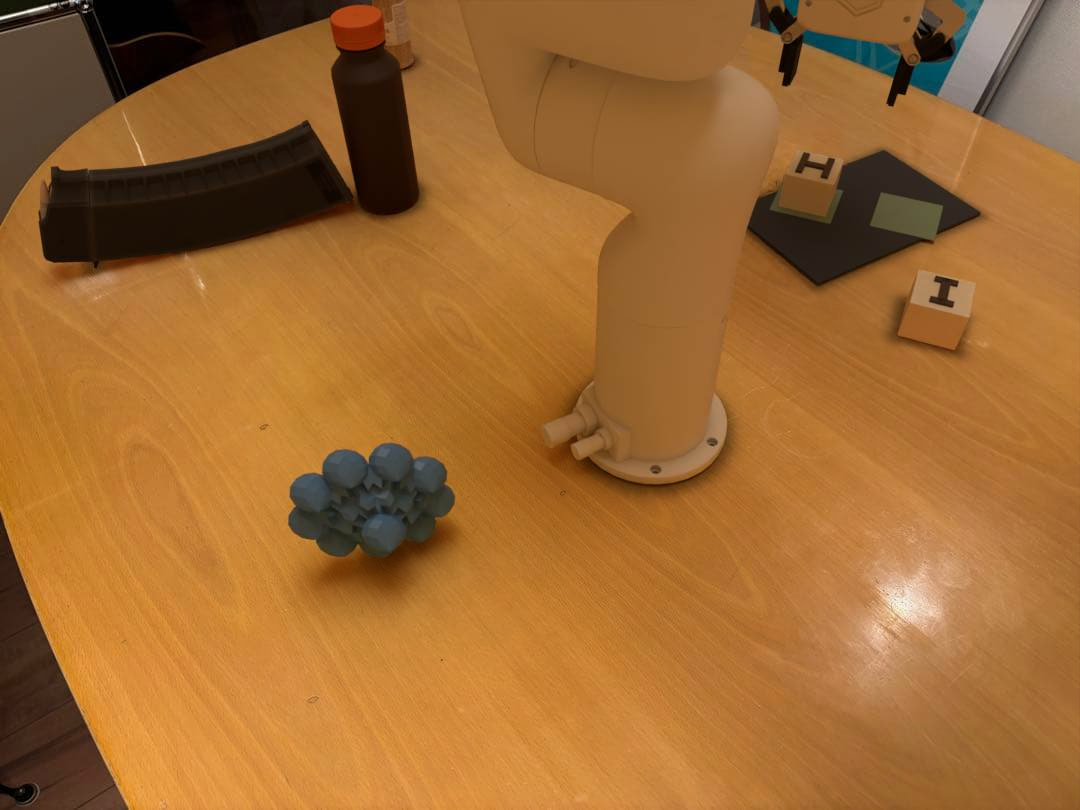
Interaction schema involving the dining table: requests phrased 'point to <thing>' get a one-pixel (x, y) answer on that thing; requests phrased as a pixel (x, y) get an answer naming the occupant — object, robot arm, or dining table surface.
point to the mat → (860, 218)
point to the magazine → (188, 200)
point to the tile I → (937, 309)
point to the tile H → (810, 183)
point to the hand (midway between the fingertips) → (839, 89)
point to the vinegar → (373, 111)
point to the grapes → (370, 501)
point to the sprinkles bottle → (396, 30)
